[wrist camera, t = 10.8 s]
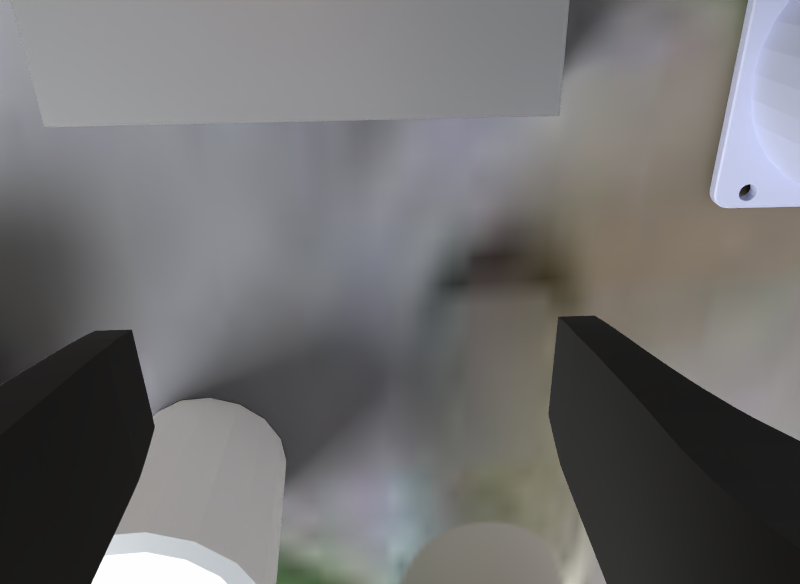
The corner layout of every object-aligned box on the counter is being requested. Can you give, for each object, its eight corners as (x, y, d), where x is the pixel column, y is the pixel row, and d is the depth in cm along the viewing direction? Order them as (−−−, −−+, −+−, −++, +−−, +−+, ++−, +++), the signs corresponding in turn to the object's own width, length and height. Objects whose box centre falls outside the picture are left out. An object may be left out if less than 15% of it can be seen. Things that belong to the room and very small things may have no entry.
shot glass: (113, 377, 24) (13, 528, 18) (303, 390, 24) (271, 543, 18) (132, 516, 27) (54, 685, 21) (301, 526, 27) (272, 695, 21)
